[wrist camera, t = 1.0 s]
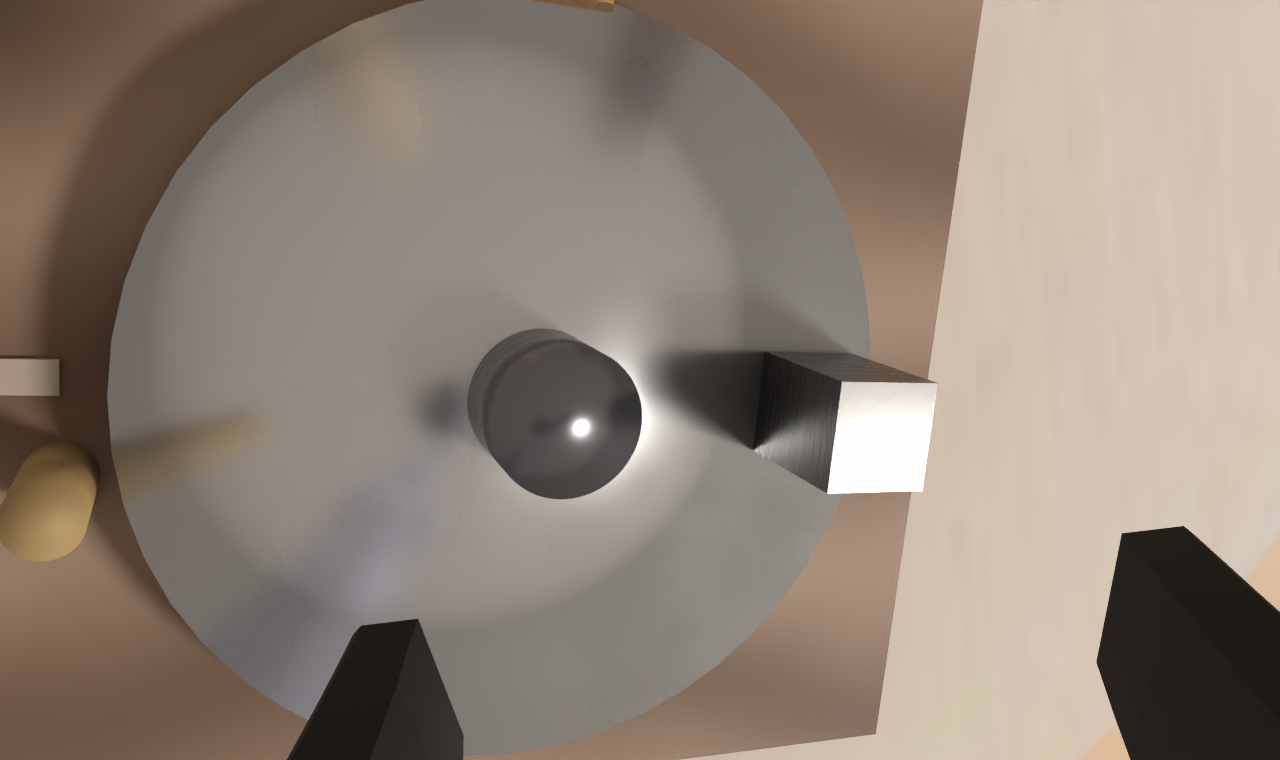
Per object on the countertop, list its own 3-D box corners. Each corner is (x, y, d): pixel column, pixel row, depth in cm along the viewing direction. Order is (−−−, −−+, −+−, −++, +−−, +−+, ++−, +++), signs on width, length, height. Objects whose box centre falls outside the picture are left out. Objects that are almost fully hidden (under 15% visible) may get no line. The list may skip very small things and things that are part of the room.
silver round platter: (796, 689, 25) (899, 786, 21) (112, 763, 19) (92, 910, 16) (888, -21, 22) (1027, -51, 18) (112, -163, 16) (89, -245, 13)
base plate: (842, 703, 27) (937, 789, 24) (-30, 804, 20) (-79, 947, 17) (940, 1, 24) (1066, -20, 21) (-57, -177, 17) (-124, -256, 13)
